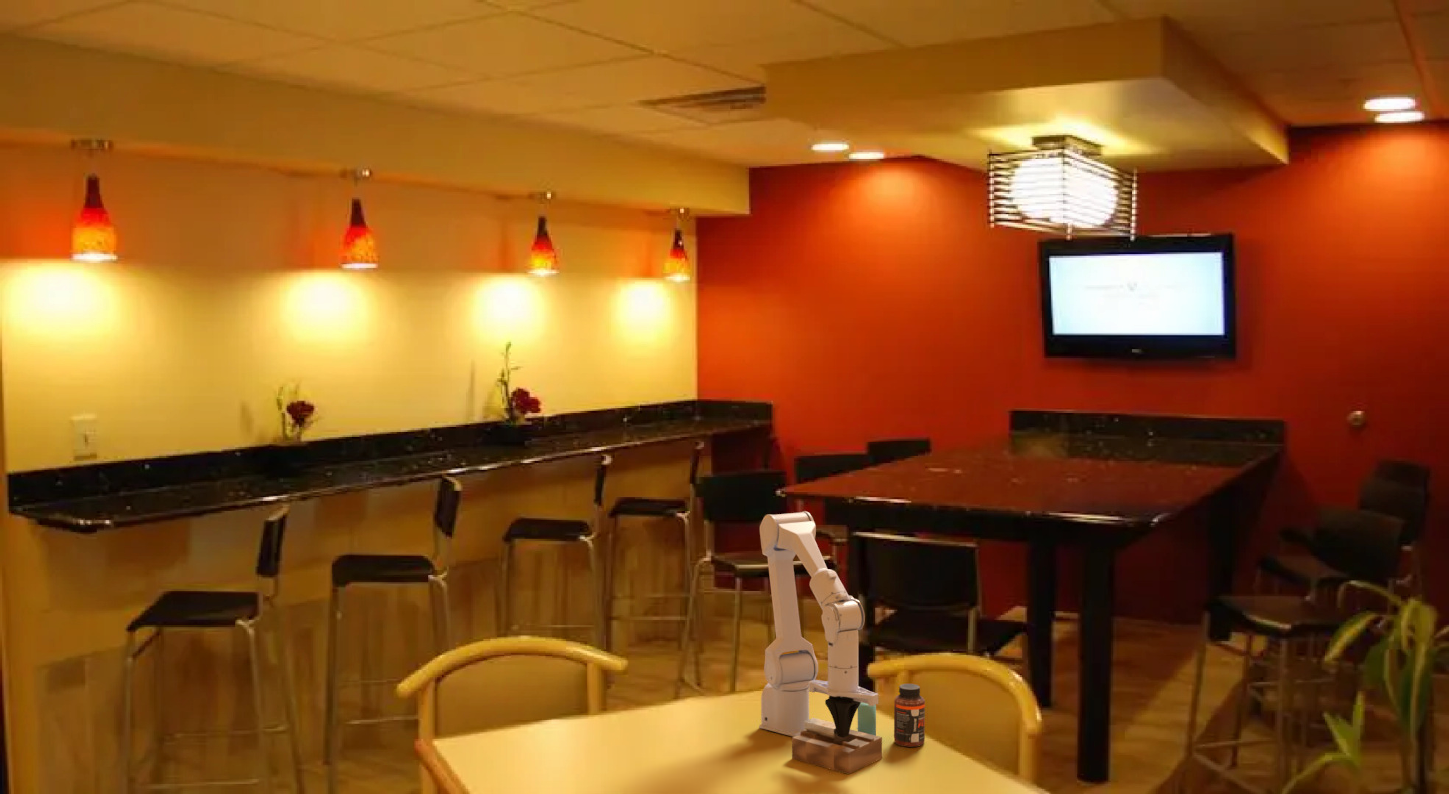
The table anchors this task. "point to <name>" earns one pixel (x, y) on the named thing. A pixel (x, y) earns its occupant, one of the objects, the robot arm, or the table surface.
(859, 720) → the peg
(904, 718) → the supplement bottle
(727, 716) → the table surface
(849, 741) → the dock
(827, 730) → the tan rectangular block
